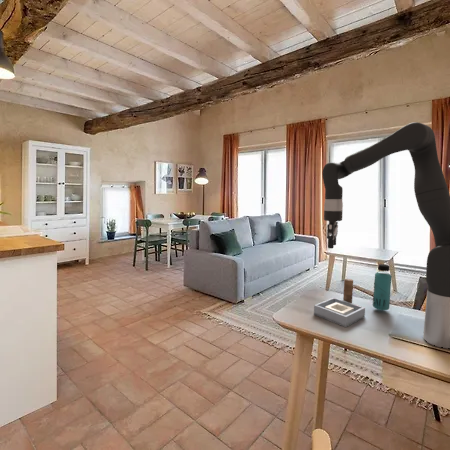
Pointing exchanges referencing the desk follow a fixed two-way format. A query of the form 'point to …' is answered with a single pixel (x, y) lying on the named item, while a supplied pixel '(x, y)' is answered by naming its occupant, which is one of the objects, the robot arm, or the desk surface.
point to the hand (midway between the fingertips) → (332, 246)
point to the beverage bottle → (382, 288)
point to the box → (339, 311)
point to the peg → (348, 290)
